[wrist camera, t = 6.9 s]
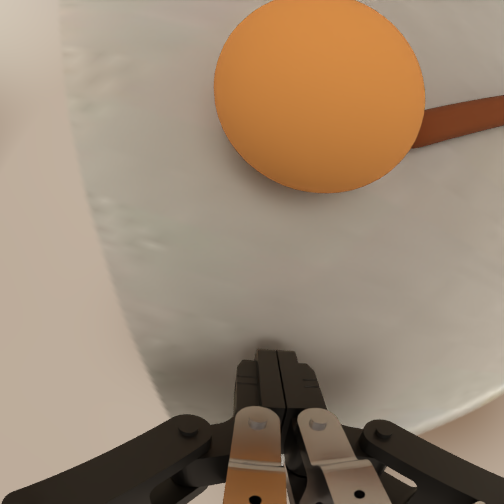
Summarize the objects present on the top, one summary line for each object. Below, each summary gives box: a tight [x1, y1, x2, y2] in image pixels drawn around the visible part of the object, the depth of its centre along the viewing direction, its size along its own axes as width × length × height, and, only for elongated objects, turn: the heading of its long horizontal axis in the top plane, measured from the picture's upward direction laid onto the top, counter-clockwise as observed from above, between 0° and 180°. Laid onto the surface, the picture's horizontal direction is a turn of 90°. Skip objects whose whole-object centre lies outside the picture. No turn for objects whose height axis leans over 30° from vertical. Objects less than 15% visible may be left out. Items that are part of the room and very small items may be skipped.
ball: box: [214, 0, 425, 193], centre depth 8 cm, size 6×6×6 cm
